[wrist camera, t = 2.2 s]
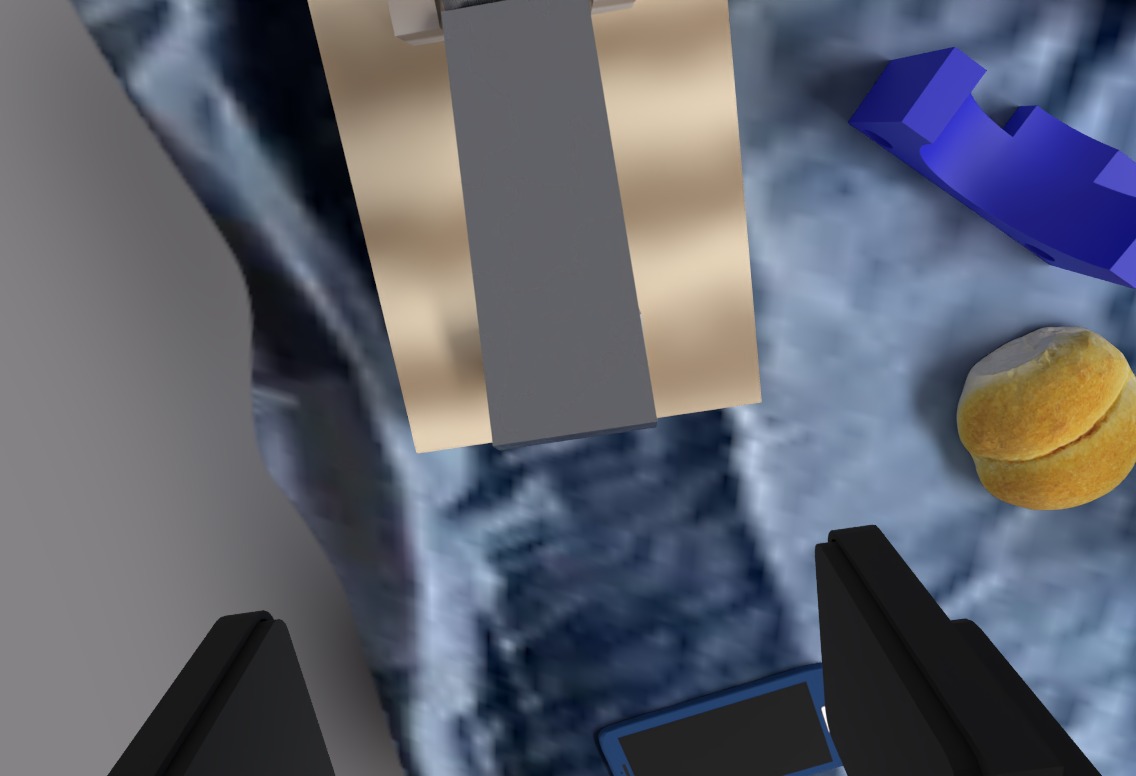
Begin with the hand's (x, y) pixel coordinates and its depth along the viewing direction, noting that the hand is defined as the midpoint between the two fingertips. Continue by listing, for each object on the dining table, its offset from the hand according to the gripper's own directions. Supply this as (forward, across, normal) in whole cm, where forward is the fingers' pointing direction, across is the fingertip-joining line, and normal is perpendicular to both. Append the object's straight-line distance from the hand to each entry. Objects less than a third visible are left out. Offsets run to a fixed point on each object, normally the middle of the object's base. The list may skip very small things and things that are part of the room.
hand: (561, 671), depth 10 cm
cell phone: (+28, -5, +28) cm, 40 cm away
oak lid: (+28, 0, -4) cm, 28 cm away
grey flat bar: (+19, 0, -5) cm, 19 cm away
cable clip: (+28, -19, -3) cm, 34 cm away
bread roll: (+28, -22, +10) cm, 37 cm away
